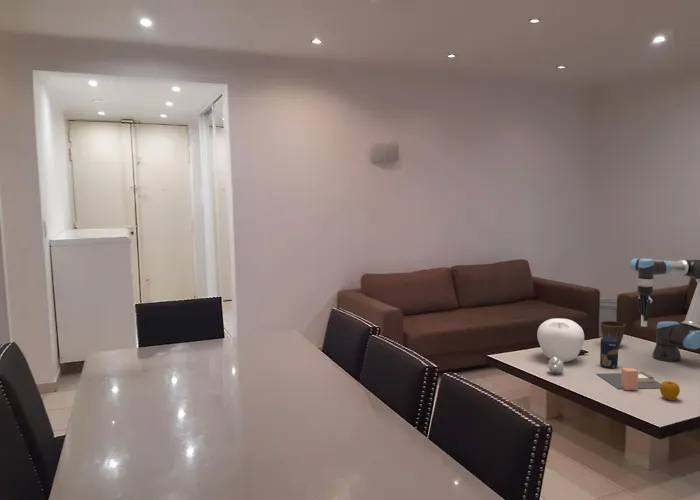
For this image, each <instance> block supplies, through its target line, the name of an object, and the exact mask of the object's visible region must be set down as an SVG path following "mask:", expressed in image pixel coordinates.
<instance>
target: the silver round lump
mask: <svg viewBox="0 0 700 500" xmlns="http://www.w3.org/2000/svg"><path fill="white" fill-rule="evenodd" d="M565 367H566V366H565V362H563V361H562V360H560V359H558V358H557V357H552V358H549V360H548V365H547V368H548V370H549V371H550V372H551V373H552V374H555V375H559V374H561V373H564V371H565V369H566V368H565Z"/></svg>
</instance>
